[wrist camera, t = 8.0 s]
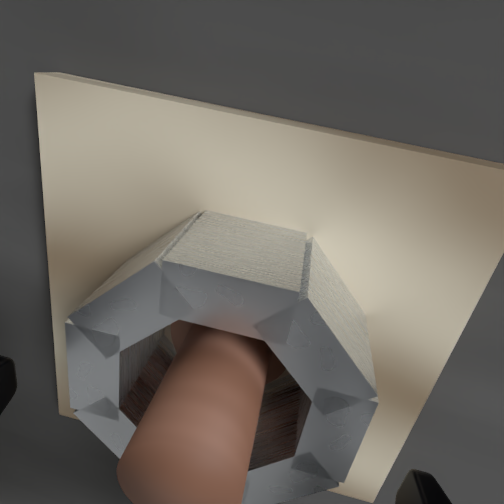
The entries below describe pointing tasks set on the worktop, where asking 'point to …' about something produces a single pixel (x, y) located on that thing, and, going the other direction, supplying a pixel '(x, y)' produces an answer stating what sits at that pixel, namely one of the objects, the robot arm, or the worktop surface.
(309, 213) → the post stand
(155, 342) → the ring
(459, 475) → the worktop surface
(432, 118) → the worktop surface
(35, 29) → the worktop surface
